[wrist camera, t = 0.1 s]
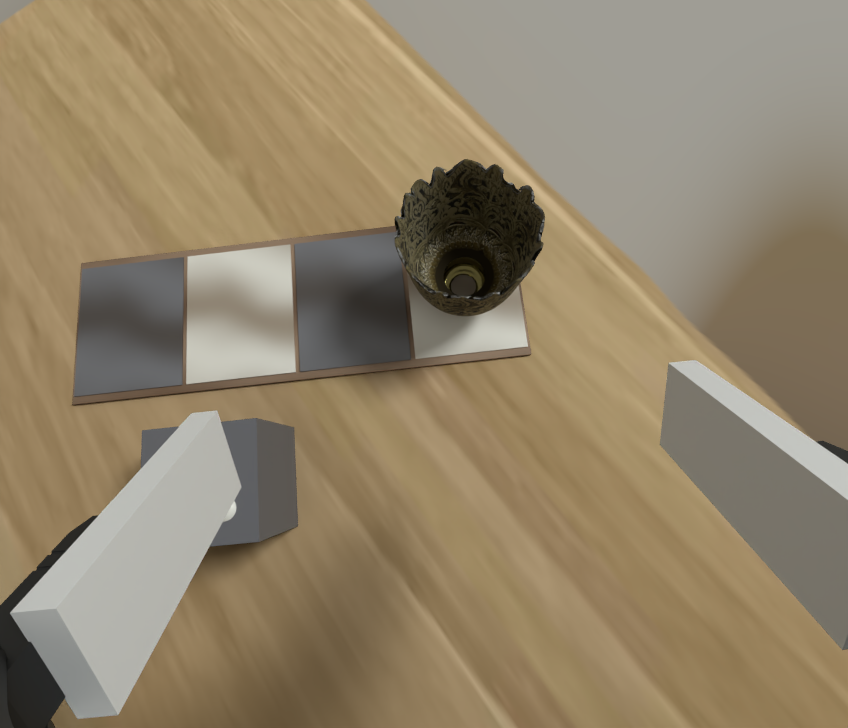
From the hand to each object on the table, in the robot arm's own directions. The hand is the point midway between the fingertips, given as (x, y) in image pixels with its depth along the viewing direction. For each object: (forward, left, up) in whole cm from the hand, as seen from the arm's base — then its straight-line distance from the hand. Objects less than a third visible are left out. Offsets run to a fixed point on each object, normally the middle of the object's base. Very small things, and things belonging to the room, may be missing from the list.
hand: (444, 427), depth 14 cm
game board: (+10, +9, -15) cm, 21 cm away
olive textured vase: (+10, -2, -15) cm, 19 cm away
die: (-1, +12, -16) cm, 20 cm away
